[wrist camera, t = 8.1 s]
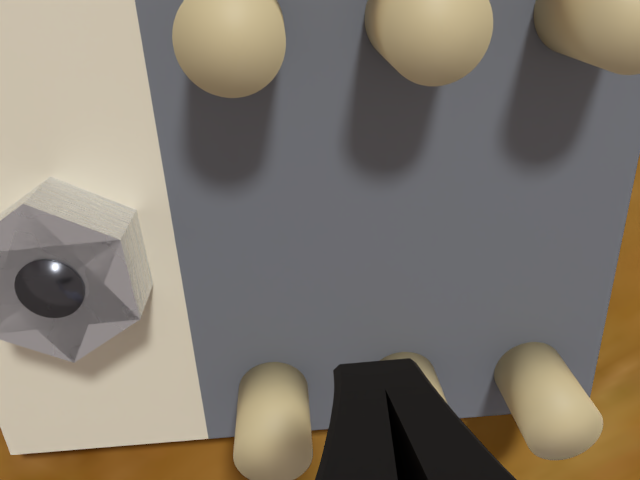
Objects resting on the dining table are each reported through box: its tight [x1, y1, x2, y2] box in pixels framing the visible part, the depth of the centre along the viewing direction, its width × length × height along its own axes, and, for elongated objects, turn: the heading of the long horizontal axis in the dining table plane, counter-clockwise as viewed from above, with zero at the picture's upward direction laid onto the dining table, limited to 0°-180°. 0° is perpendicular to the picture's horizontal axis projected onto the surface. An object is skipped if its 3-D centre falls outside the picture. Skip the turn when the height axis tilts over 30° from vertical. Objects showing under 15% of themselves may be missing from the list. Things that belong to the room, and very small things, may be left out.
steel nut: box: [0, 177, 153, 363], centre depth 17 cm, size 5×4×2 cm
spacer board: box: [0, 0, 640, 480], centre depth 17 cm, size 16×21×4 cm
